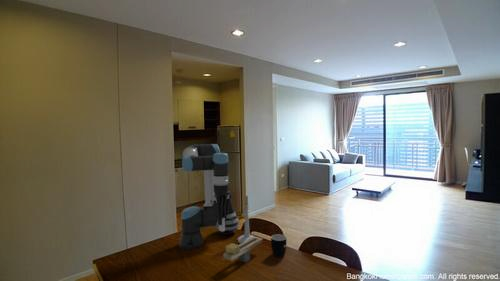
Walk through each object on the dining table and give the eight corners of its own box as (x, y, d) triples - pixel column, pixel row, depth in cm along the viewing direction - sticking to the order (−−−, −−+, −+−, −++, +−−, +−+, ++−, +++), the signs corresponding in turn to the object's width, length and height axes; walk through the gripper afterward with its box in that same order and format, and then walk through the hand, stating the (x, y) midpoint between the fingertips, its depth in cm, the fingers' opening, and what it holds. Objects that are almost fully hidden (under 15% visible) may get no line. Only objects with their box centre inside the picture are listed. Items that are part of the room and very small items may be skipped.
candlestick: (256, 244, 165) (256, 197, 164) (236, 244, 165) (236, 197, 164) (256, 236, 178) (256, 192, 177) (238, 236, 178) (237, 193, 177)
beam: (223, 268, 135) (222, 253, 135) (254, 249, 158) (254, 236, 158) (231, 272, 132) (231, 257, 131) (262, 251, 154) (262, 238, 154)
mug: (285, 259, 145) (285, 241, 145) (269, 257, 147) (269, 239, 147) (288, 249, 156) (287, 233, 156) (273, 248, 159) (273, 231, 158)
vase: (243, 232, 185) (242, 191, 184) (226, 239, 173) (226, 195, 172) (228, 227, 196) (227, 188, 195) (211, 233, 184) (211, 192, 183)
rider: (225, 255, 137) (225, 246, 137) (232, 251, 141) (231, 243, 140) (233, 258, 133) (233, 249, 133) (240, 254, 137) (239, 245, 137)
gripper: (217, 187, 122) (218, 236, 123) (235, 182, 132) (236, 228, 133) (206, 185, 126) (207, 233, 127) (224, 181, 137) (225, 225, 137)
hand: (222, 230), depth 130 cm, fingers closed
